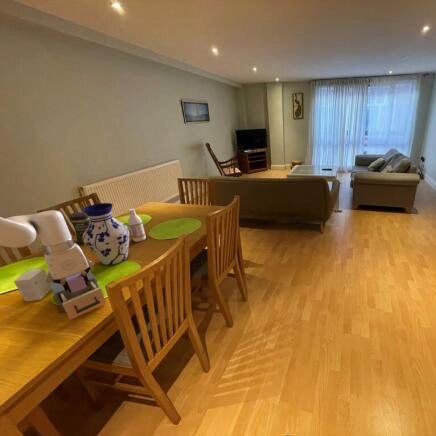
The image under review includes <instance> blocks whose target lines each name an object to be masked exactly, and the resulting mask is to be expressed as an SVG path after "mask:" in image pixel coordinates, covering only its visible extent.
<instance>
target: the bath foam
mask: <svg viewBox="0 0 436 436" xmlns="http://www.w3.org/2000/svg"><path fill="white" fill-rule="evenodd" d="M128 213H129V217H128V219H127V225H128V229H129V232H130V235H131V237H132V241H133V242H136V243H137V242H142V241H144V240H147V236H146V232H145V228H144V225H143V221H142V219H141V217H140V216H138V215H137V213H136V210H135V208H129V209H128Z"/></svg>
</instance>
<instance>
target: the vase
mask: <svg viewBox="0 0 436 436" xmlns="http://www.w3.org/2000/svg"><path fill="white" fill-rule="evenodd" d="M113 207H114V204H113V203H111V202H102V203H94V204H91V205H86V206H85V207H83V208H81V212H85V213H86V214H87V215H88V216H89V218H90V224H89V226H88V228H87V229H86V231H85V232H84V234H83V241H84V243H83V244H84V245H85V246H86V248H87V249H88V250H89V251H90V252H91V253H92V254H93V256H95V258H97V259H98V260H99V261H100V262H101V263H102V265H103V266H114V265H118V264H121V263H123V262H125V261H126V260H127V259H128V255H129V246H130V235H131V232H130V228H129V226H128V225H126V224H125V223H123V222H121V221H119V220H118V219H116V218H115V217H114V216H113V215H112V210H113Z"/></svg>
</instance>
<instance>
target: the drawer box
mask: <svg viewBox="0 0 436 436" xmlns="http://www.w3.org/2000/svg"><path fill="white" fill-rule="evenodd" d="M79 273H80V274H81V272H78V273H75V274H73V275H70V276H67V277H65V279H66V278H69V277H71V276H74V275H77V274H79ZM87 277H88V280H89V281H92V282H93V283H94V284H95V285H96V287H97V288H99V287H100V286H99V284H98V281H97V279H96V277H95V275H94V274H93V273H92V272H91V271H89V272H88V274H87ZM52 278H53V277H52ZM65 281H66V280H65ZM48 283H49V285H50V287H51V289H52V290H51V292H52V294H53V296H54V298H55V299H56V301H57V304H58V305H59V308H60V309H61V311H62V312H63V313H65V312H66V311H65V309H64V307H63V305H62V303H63V301H62V299H61V296H60V294H59V293H62V292H64V291H65V289H64V287H63V285H61V284H58V283H54V282H52V283H51V282H48Z"/></svg>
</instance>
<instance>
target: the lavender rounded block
mask: <svg viewBox="0 0 436 436" xmlns="http://www.w3.org/2000/svg"><path fill="white" fill-rule="evenodd" d="M65 280H66V282H67V283H68V285H69V287H70V289H71V292H72V293H74V292H76V291H79V290H81V289H83V288H86V287H87V286H86V283H85V281H84V279H83V277H82V276H81V274H80V273H79V274H77V275H74V276H71V277H69V278H66V279H65Z"/></svg>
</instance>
